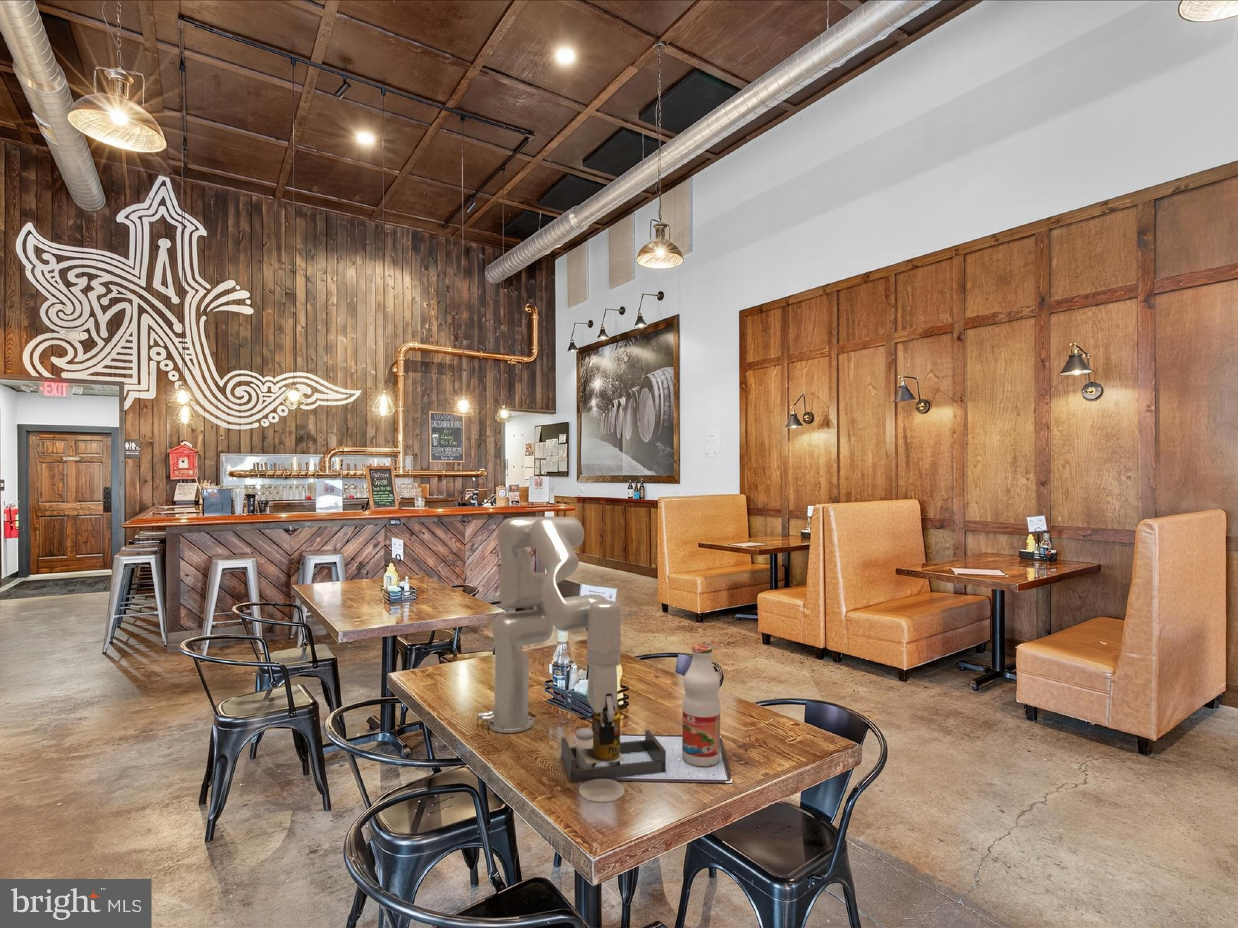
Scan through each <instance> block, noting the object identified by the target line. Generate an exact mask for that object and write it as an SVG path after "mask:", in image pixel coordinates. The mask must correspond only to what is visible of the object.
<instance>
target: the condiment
mask: <svg viewBox="0 0 1238 928" xmlns="http://www.w3.org/2000/svg"><path fill="white" fill-rule="evenodd" d="M619 705H620V704H619V701H618V700H617V710H616V711H615V712H614V715H615V716H614V743H613V744H607V745H600V743H599V726H601V719H600V712H599V713H598V714H597V713H594V714H593V715H594V722H593V748H591V749H581V750H582V753H583V756H584V759H585V761H586V763H587V764H589V763H593V764H594V763H595V764H596V763H609V762H616V761H620V762H623V761H625V758H624V757H623V754H621V753H620V742H621V714H620V713H619V711H620V708H619V707H620V706H619ZM613 707H614V706H613ZM614 708H615V707H614ZM603 711H607V708H604V709H603ZM605 717H607V714H604V718H605Z"/></svg>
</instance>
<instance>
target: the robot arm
mask: <svg viewBox="0 0 1238 928" xmlns="http://www.w3.org/2000/svg"><path fill="white" fill-rule="evenodd" d="M497 530H498V531H497V546H498V548H499V554H500V577H499V578H500V579H499V599H500V601H499V602H500V604H501V605H502V606H503V607H504V608H506V609H520V608H521V609H523V608H529V607H531V608H532V607H533V609H529V610H518V611H511V612H505V613H502V614H500V615H498V616H496V618H495V619H494V620H493V623H492V628H491V630H492V631H491V632H492V638H493V643H494V644H493V646H494V656H495V657H494V659H495V660H494V662H495V663H494V664H495V665H494V706H492V709H489V710H488V711H478V712H477V720H482V722H488V728H489V729H490V730H492V731H493V732H497V733H501V734H514V733H515V734H517V733H520V732H521V733H522V732H525V731H527V730H529V729H531V728H532V727H533V726H534V722H535V721H534V717H532V716H531V715H529V696H530V695H529V691H530V690H529V689H530V687H529V686H530V681H529V680H530V661H529V658H528V655H526V653H525V652H524V651H523V649H522V647H523V646H527V645H534V644H541V643H544V642H547V641H548V640H550V638H551V636H552V635H553V630H554V627H555V629H557V630H558V631H563V632H566V631H574V630H575V631H576V630H583V629H587V630H586V632H587V637H586V640H587V641H586V642H587V643H586V645H587V646H586V647H587V648H586V664H587V666H588V677H587V697H586V698H587V699H586V700H587V703H588V704H589V706H590V707H591V709H592V718H591V719H592V723H591V724H592V725H591V727H592V728H591V729H592V731H593V722H594V713H597V714H598V713H599V712H600V719H601V726H599V743H600V745H607V744H613V743H614V716H615V715H614V712H615V711H616V710H617V701H618V672H617V667H619V666H620V665H621V637H622V636H621V635H622V633H621V627H622V621H621V620H622V619H621V618H622V608H621V605H620V604H619V602H617V601H614V600H610V599H607V598H606V597H605V596H602V595H600V594H585V595H577V596H576V595H574V596H567V597H564V596H563V595H562V593H561V591H560V588H559V586H558V584H559V583H560V582H562V581H564V580H566V579H567V578H569V577H570V576H571V575H573V573H575V571H576V570H577V569H578V567H579V564H580V561H579V560H580V559H579V557H578V555H577V553H576V551H575V550H574V549H576V548H579V547H580V546H581V545H582V544H583V542H584V539H585V530H584V527H583V525H582V523H581V522H580V521H579V519H577V518H576V517H573V516H518V517H516V516H515V517H510V518H506V519H505V520H503V521H501V523H500V524H499V527H498V529H497ZM527 548H535V551H536V553H537V555H538V557H539V559H540V561H541V563H542V565H543V567H544V569H545V571H546V572H532V558H531V555H530V553H529V550H527ZM613 706H614V707H615V708H614V707H613ZM604 708H607V711H603V709H604ZM604 714H607V717H605V718H604Z"/></svg>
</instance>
